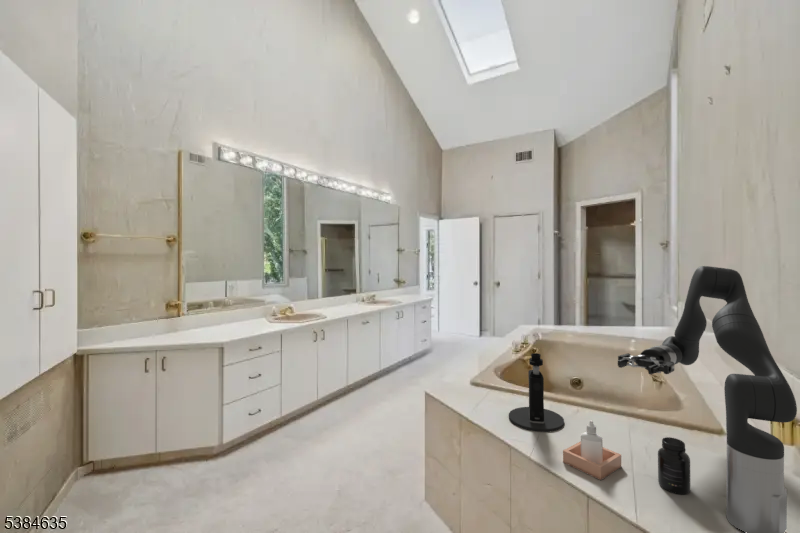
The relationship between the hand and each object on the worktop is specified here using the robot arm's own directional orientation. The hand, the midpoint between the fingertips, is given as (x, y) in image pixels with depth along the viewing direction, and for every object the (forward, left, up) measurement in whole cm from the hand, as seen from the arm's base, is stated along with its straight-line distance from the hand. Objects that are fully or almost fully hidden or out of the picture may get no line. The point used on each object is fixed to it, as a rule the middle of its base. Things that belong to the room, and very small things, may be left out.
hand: (634, 367), depth 115 cm
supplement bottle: (-14, +10, -26) cm, 31 cm away
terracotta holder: (+4, +17, -26) cm, 31 cm away
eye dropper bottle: (+4, +16, -26) cm, 31 cm away
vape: (+32, +4, -26) cm, 42 cm away
